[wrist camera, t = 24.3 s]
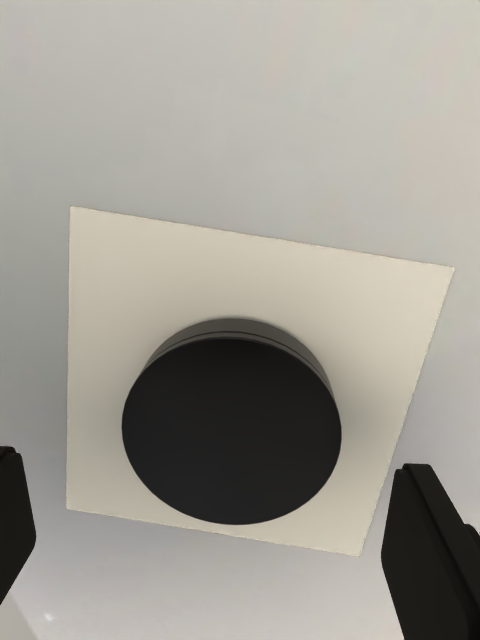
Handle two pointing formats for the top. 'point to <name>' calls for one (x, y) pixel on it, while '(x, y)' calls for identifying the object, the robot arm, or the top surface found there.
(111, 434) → the cream paper sheet
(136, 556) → the top surface
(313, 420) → the jar lid
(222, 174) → the top surface
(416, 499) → the robot arm
